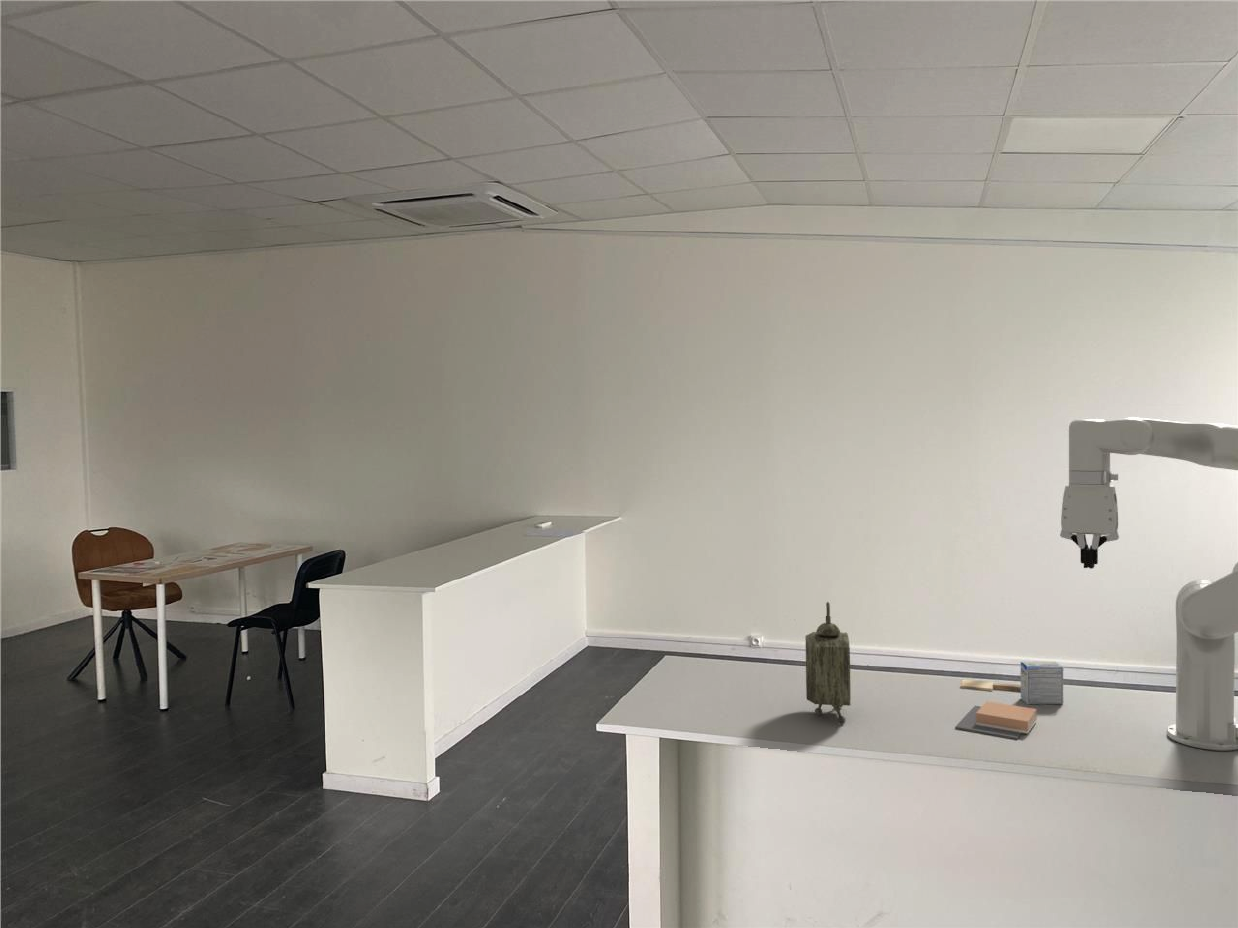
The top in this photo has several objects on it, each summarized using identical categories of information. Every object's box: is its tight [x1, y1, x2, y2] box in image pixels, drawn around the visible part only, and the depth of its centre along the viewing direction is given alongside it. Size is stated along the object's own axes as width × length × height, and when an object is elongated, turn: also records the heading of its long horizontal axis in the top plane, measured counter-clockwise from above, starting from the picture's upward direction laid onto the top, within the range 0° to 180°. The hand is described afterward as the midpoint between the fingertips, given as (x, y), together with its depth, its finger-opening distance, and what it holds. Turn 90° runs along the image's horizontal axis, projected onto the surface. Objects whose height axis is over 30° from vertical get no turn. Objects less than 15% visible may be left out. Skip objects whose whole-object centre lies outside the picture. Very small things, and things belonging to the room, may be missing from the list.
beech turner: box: [960, 679, 1021, 692], centre depth 209 cm, size 17×6×1 cm, turn 64°
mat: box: [954, 705, 1023, 740], centre depth 186 cm, size 12×16×1 cm
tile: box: [976, 701, 1038, 735], centre depth 184 cm, size 2×9×10 cm
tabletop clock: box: [804, 601, 851, 725], centre depth 192 cm, size 14×9×25 cm, turn 168°
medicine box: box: [1020, 661, 1064, 705], centre depth 198 cm, size 8×4×9 cm, turn 84°
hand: (1089, 567), depth 182 cm, fingers closed
